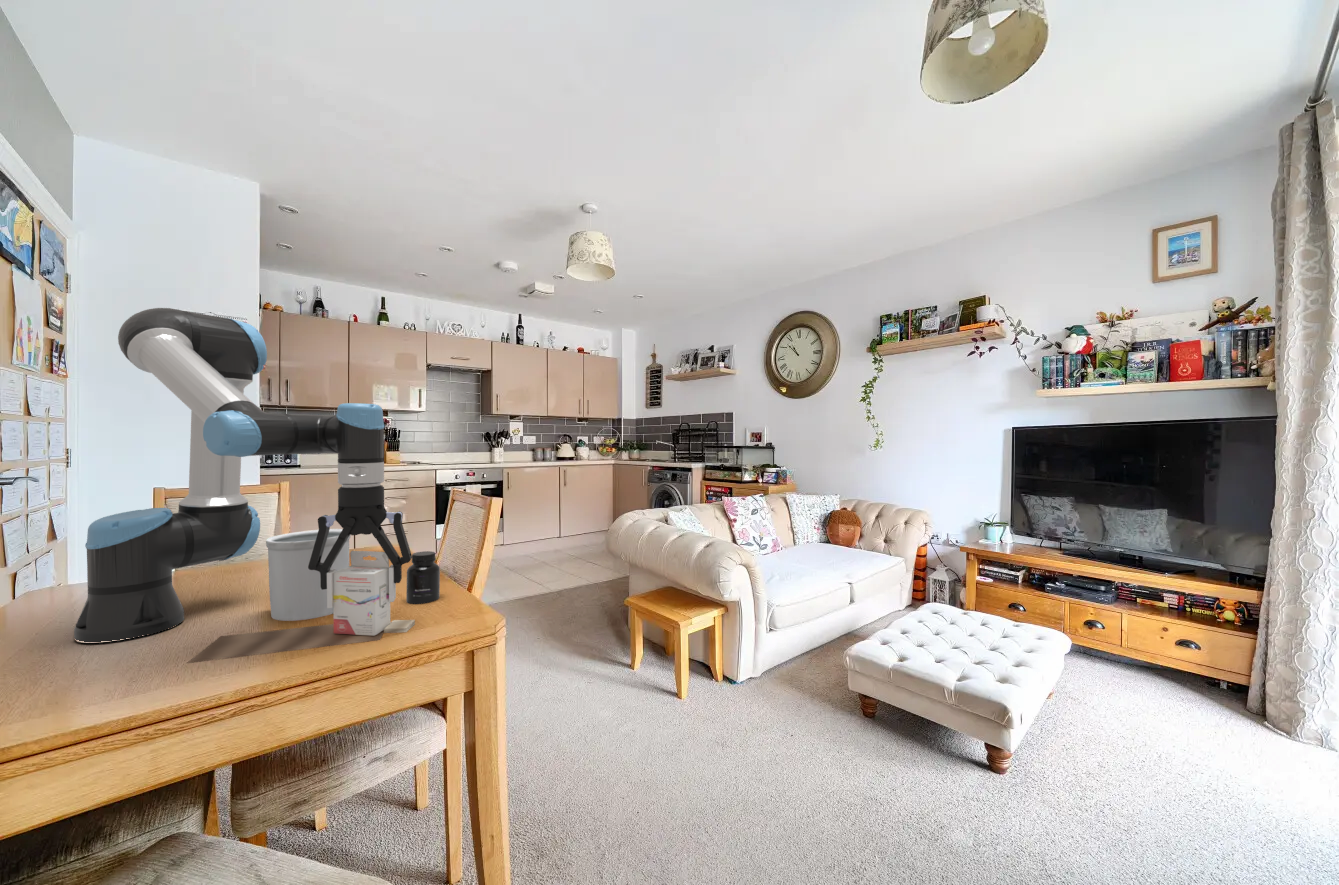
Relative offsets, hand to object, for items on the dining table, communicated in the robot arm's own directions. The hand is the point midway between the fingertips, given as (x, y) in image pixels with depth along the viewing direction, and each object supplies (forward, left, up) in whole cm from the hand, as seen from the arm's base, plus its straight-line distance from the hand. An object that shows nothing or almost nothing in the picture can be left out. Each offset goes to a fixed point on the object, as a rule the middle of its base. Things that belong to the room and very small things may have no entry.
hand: (362, 602), depth 98 cm
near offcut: (+6, -1, -6) cm, 9 cm away
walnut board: (-10, 0, -7) cm, 12 cm away
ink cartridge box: (0, 0, -5) cm, 5 cm away
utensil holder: (-13, +18, -7) cm, 24 cm away
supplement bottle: (+9, +17, -7) cm, 21 cm away
